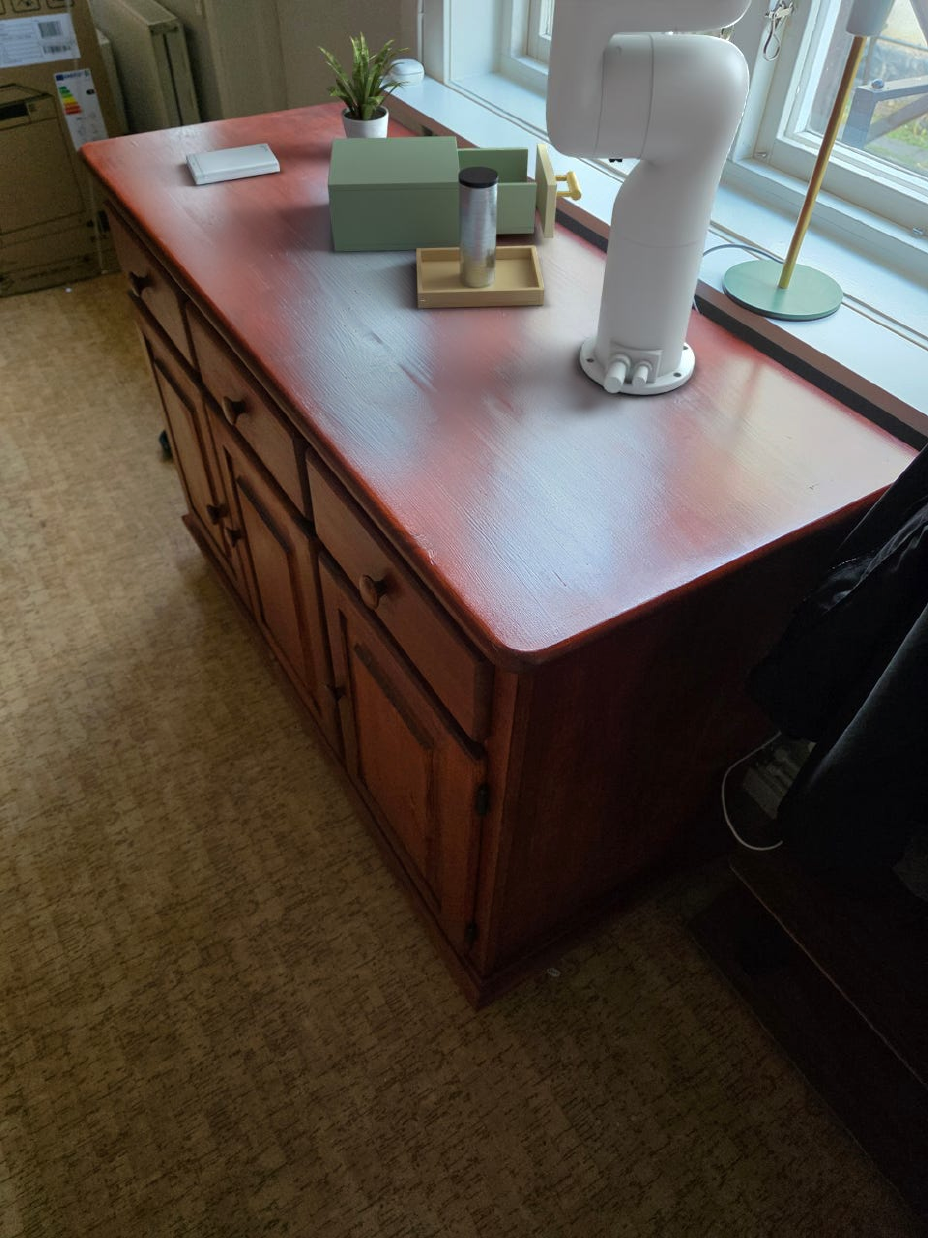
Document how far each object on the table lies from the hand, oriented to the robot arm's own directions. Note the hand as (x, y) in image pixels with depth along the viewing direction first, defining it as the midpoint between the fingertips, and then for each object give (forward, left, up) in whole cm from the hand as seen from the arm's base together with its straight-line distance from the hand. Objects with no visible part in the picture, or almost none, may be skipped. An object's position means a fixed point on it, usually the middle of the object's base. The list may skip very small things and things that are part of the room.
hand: (614, 157), depth 116 cm
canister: (-22, +12, -8) cm, 26 cm away
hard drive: (0, +57, -8) cm, 58 cm away
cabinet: (-10, +27, -8) cm, 30 cm away
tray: (-22, +12, -8) cm, 26 cm away
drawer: (-5, +13, -7) cm, 16 cm away
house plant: (+10, +38, -8) cm, 40 cm away
